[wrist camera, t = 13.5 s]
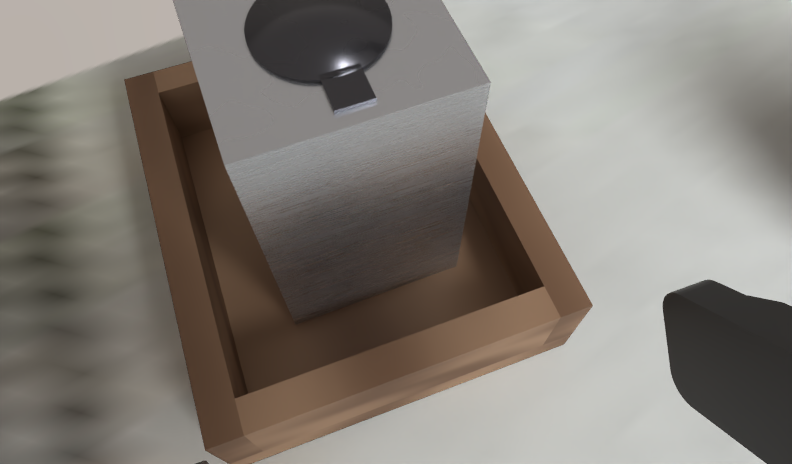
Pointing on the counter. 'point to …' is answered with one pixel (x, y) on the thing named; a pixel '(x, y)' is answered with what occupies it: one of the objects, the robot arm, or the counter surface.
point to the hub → (342, 136)
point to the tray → (346, 327)
